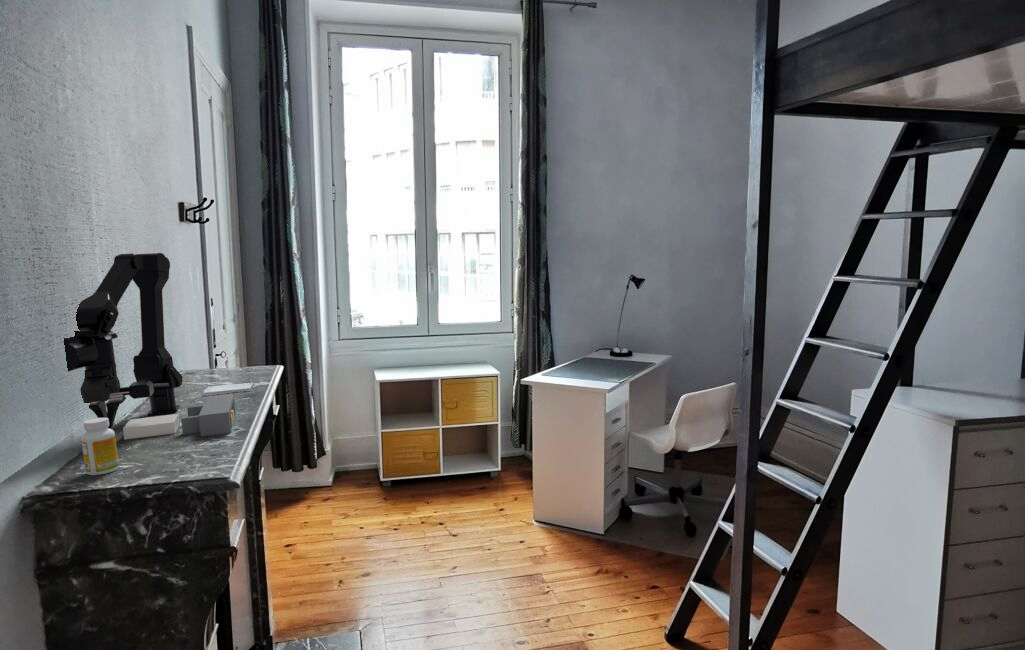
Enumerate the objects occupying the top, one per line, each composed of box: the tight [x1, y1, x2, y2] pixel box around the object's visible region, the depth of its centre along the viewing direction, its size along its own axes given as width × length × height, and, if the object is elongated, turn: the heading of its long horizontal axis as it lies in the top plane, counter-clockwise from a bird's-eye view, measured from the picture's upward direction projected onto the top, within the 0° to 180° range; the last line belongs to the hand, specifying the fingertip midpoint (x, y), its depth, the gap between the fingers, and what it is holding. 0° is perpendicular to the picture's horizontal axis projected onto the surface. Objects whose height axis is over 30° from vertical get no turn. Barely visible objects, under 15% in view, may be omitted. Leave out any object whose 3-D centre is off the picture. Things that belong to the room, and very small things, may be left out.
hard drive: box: [202, 382, 255, 397], centre depth 194 cm, size 2×8×12 cm
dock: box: [180, 393, 237, 437], centre depth 157 cm, size 20×10×5 cm, turn 19°
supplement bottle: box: [80, 417, 120, 476], centre depth 127 cm, size 5×5×10 cm
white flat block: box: [122, 413, 181, 441], centre depth 153 cm, size 8×10×2 cm
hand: (109, 431), depth 151 cm, fingers closed
